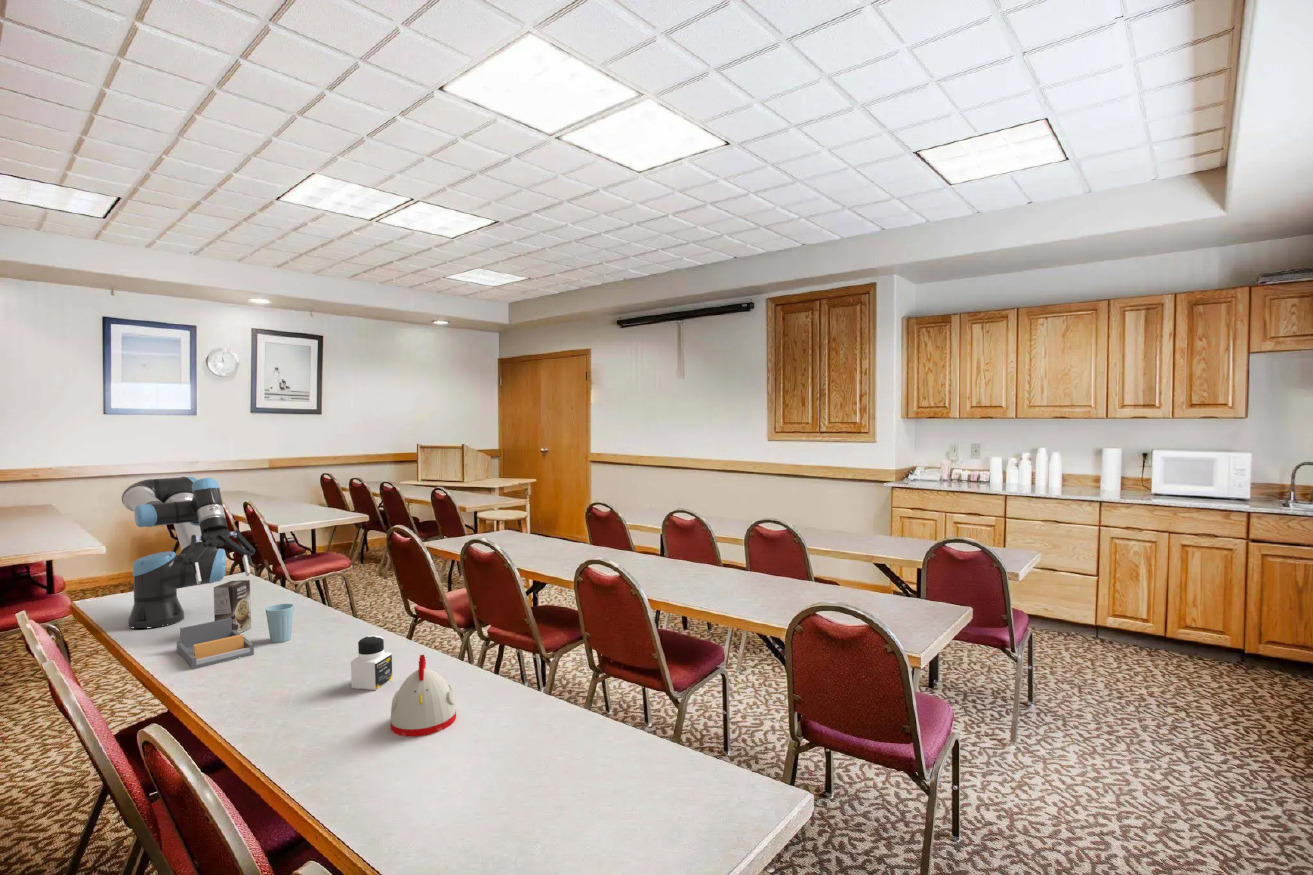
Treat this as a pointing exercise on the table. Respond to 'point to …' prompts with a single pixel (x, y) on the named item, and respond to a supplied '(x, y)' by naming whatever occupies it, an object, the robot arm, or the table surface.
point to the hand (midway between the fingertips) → (224, 578)
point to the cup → (280, 622)
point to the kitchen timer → (422, 704)
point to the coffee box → (233, 604)
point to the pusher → (218, 646)
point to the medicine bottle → (371, 664)
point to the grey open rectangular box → (206, 634)
